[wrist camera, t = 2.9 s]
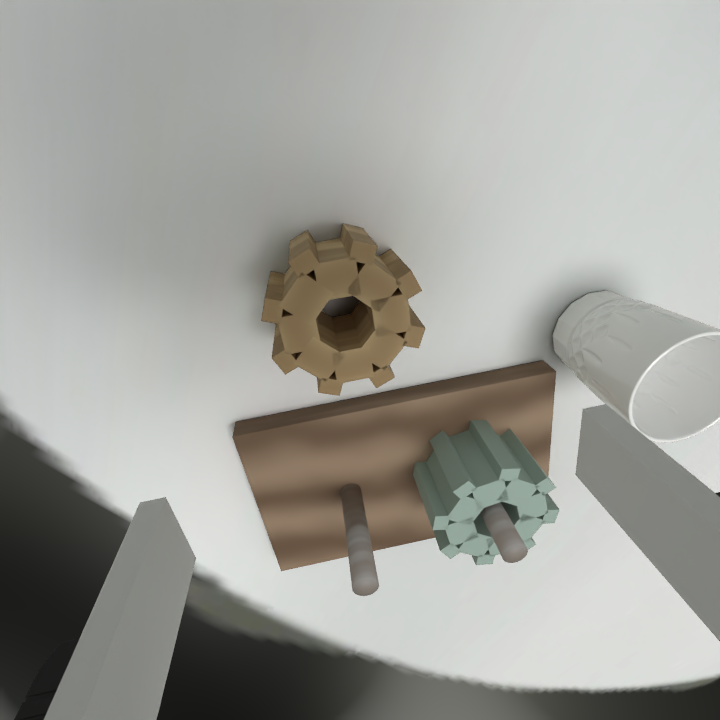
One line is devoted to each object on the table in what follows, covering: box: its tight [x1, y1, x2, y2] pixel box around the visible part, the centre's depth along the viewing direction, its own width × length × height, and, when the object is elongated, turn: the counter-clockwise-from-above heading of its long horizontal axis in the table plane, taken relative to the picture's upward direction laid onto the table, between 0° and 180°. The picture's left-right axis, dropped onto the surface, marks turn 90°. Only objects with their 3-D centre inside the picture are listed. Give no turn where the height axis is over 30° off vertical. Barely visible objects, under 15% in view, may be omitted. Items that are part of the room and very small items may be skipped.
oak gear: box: [261, 224, 425, 396], centre depth 28 cm, size 10×10×6 cm
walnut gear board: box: [233, 360, 556, 596], centre depth 34 cm, size 16×26×11 cm, turn 99°
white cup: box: [553, 291, 720, 443], centre depth 30 cm, size 8×8×10 cm
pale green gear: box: [413, 420, 559, 565], centre depth 34 cm, size 10×10×6 cm
